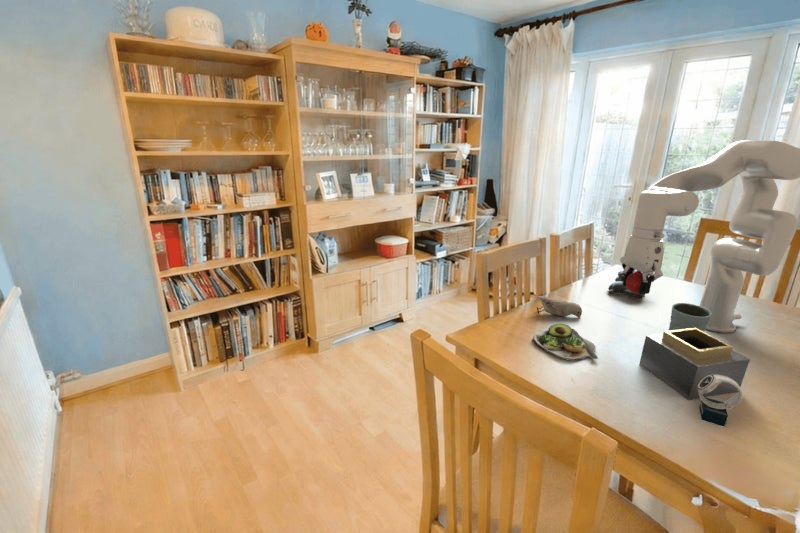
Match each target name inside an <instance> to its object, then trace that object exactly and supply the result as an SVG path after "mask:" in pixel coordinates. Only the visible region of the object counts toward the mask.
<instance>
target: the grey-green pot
mask: <svg viewBox="0 0 800 533" xmlns="http://www.w3.org/2000/svg"><path fill="white" fill-rule="evenodd" d="M711 315H712V313H711V312H710V311H709V310H707V309H705V308H703V307H701V306H700V305H697V304H693V303H687V302H678V303H674V304H672V306H671V314H670V321H669V327H668V330H667V331H672V330H680V329H688V328H697V329H699V330H701V331H703V332H705V331H706V329H705V328H706V327H707V325H708V322H709V320H710V318H711Z"/></svg>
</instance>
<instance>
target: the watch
mask: <svg viewBox="0 0 800 533" xmlns="http://www.w3.org/2000/svg"><path fill="white" fill-rule="evenodd" d="M721 381H722V382H727V383H730V384H732V385H734V386H735V387H736V388H737V389H738V390H739V392H736V393H735V394H734V395H733V396H732V397H730V398H729V399H727V400H725V401H720V400H717V399H713V398H711V397H710V398H709V397H703V396H702V395H703V394H704V393H709V392H711V391H713V390H714V389H715V388H716V387H717V385H718V384H720V383H722V382H721ZM697 389H698V392H699V397H700V398H699V399H700V403H699V405H698V408H699V415H700V420H701V421H705V422H707V423H711V424H713V425H716V426H720V427H722V428H725V426H726V424H727V421H728V418H729V414H728V410H730V409H732V408H734V407H735V406H737V405H739V403H741V401H743V400H742V398H743V393H742V389H741V387H739V385H738V384H737V382H735V381H734V380H733V379H731V378H729V377H726V376H723V375H713V374H710V375H707V376H705V377H704V378H702V379H701V380H700V381H699V383H698V385H697Z"/></svg>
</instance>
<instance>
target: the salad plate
mask: <svg viewBox="0 0 800 533" xmlns="http://www.w3.org/2000/svg"><path fill="white" fill-rule="evenodd" d="M533 342H534V343H535V345H537V346H538V348H540V349H542V350H543V351H545V352H547V353H548V354H551V355H552V356H555V357H557V358H559V359H561V360H567V361H580V360H583V359H585V358H586V359H587V358H592V359H594V360H597V359H599V357H598V355H597V354H596V353H595V352H596V350H597V349H596V348H597V347H596V345H595V343H593V341H590V340H588V339H586V338H585V337H582V335H581V336H580V334H579V332H578V331H577V330H576V329H574V328H572V327H570V326H569V325H568V324H565V323H555V324H554V323H553V324H552V325H550V326H549V327H548V330H545V331H541V332H538V333H536V334H534V335H533ZM556 350H558V351H565V352H567V354H570V355H569V356H567V355H563V354H559V353H556V352H554V351H556Z"/></svg>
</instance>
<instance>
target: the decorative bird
mask: <svg viewBox="0 0 800 533" xmlns="http://www.w3.org/2000/svg"><path fill="white" fill-rule="evenodd" d="M537 298H538V300H540V302H541V305H542V306H541V307H539V308H538V306H536V310H537V311H536V312H537V314H538V315H540V313H542V312H544V311H545V312H546V313H548V314H551V315H553V316H559V317H567V316H571V315H573V316H575V317H577V318H578V319H581V318H582V315H583V313H582V312H583V309H582V307H581V306H580V304H578V303H576V302H571V301H570V302H568V301H565V300H563V299H558V298H557V299H556V298H549V297H547V296H542V295H541V296H540V295H538V297H537ZM540 310H541V311H540Z"/></svg>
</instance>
